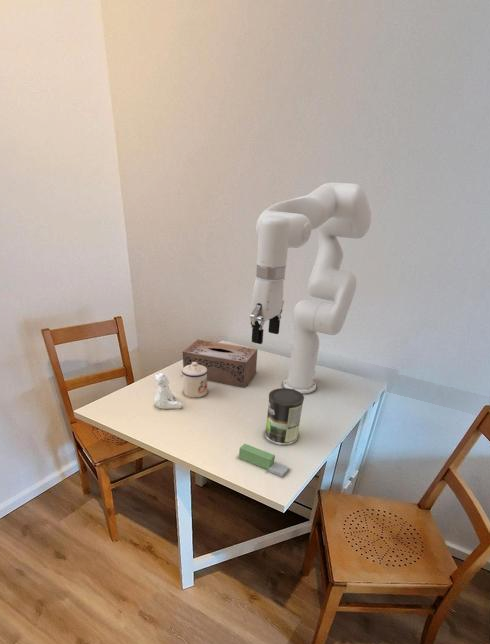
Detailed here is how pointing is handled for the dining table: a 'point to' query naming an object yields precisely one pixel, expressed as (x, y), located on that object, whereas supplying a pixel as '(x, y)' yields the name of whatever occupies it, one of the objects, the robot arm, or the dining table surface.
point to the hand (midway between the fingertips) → (265, 337)
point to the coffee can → (283, 415)
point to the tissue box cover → (223, 361)
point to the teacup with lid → (195, 380)
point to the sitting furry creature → (164, 394)
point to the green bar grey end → (262, 459)
